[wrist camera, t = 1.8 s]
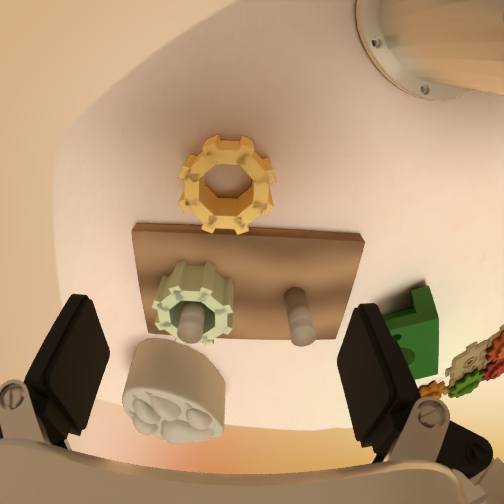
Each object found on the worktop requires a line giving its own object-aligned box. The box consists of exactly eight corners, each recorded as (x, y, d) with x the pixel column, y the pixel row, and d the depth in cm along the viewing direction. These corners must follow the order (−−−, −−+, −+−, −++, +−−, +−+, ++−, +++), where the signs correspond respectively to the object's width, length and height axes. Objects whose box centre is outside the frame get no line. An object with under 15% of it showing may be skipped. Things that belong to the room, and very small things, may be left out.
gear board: (136, 223, 26) (108, 267, 20) (359, 233, 27) (388, 278, 21) (151, 323, 32) (137, 373, 26) (332, 329, 33) (347, 378, 27)
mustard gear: (186, 133, 22) (177, 142, 19) (274, 137, 23) (279, 146, 20) (187, 212, 26) (179, 232, 23) (267, 216, 26) (270, 236, 23)
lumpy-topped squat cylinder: (170, 402, 41) (162, 453, 33) (115, 347, 35) (96, 404, 27) (234, 390, 39) (234, 446, 32) (186, 328, 33) (175, 393, 25)
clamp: (376, 284, 36) (378, 316, 28) (422, 273, 34) (436, 301, 25) (391, 364, 38) (393, 406, 29) (432, 354, 35) (442, 395, 27)
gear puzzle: (405, 414, 48) (410, 431, 45) (400, 375, 41) (409, 396, 37) (528, 345, 42) (537, 358, 39) (545, 292, 35) (557, 306, 31)
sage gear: (157, 259, 26) (147, 283, 23) (234, 262, 27) (234, 288, 24) (165, 316, 30) (158, 342, 27) (232, 320, 30) (231, 347, 27)
